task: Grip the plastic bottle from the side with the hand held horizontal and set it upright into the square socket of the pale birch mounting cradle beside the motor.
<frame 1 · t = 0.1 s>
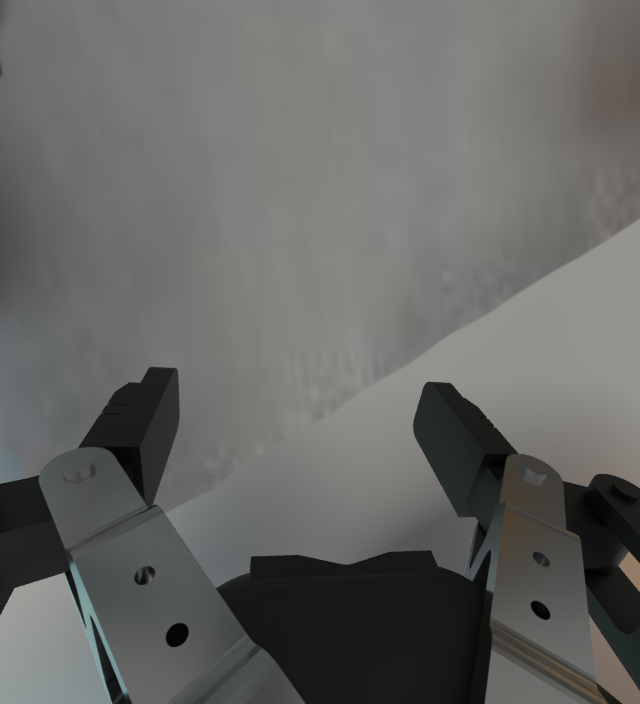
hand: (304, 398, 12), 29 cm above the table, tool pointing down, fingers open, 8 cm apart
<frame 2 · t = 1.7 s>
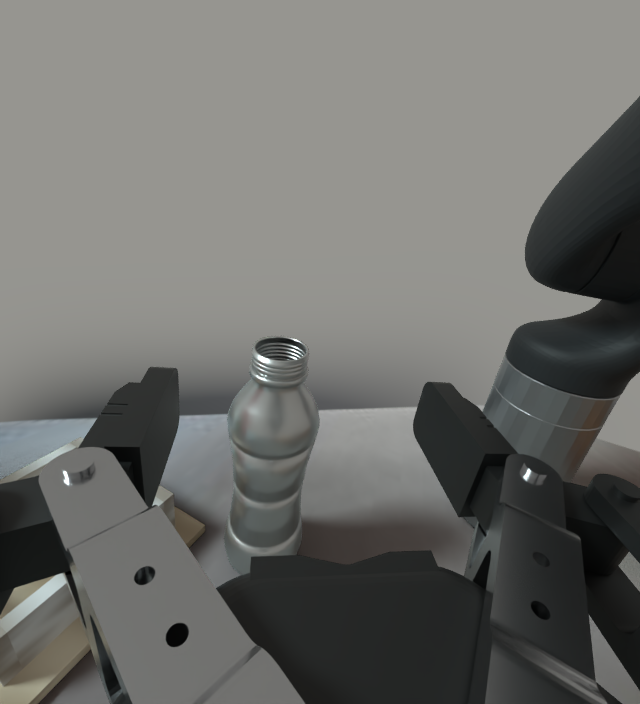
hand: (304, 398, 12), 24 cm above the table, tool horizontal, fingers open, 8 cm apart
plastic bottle: (261, 555, 32), on the table
mounting cradle: (57, 556, 30), on the table
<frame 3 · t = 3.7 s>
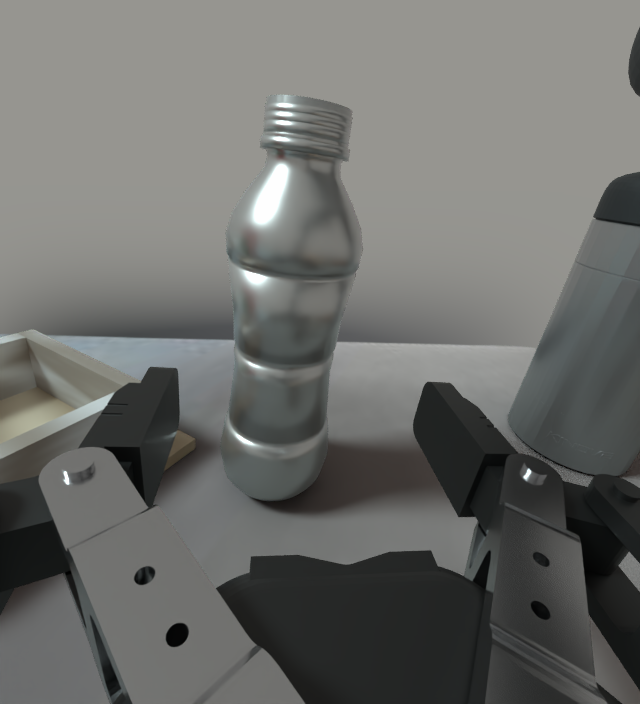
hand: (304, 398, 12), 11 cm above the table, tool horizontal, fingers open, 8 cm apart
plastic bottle: (271, 476, 24), on the table
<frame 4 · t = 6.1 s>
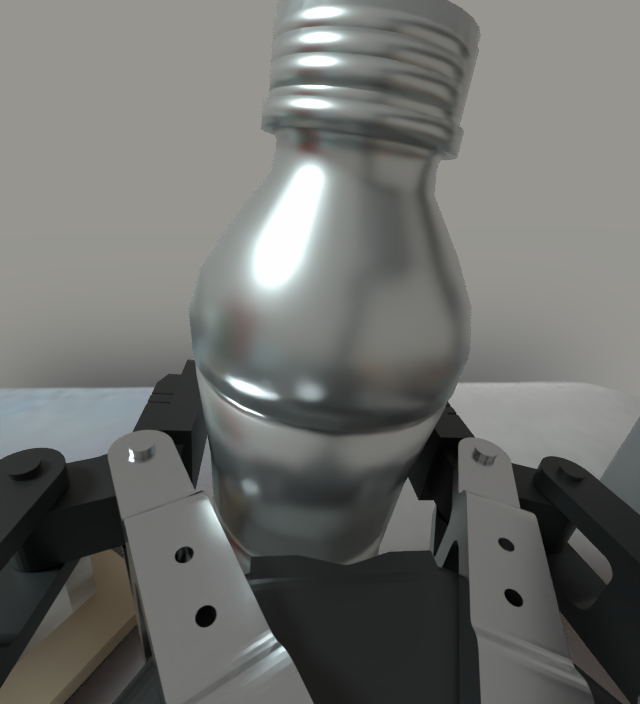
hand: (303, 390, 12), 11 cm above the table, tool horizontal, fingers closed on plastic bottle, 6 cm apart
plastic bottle: (278, 652, 15), on the table, touching gripper
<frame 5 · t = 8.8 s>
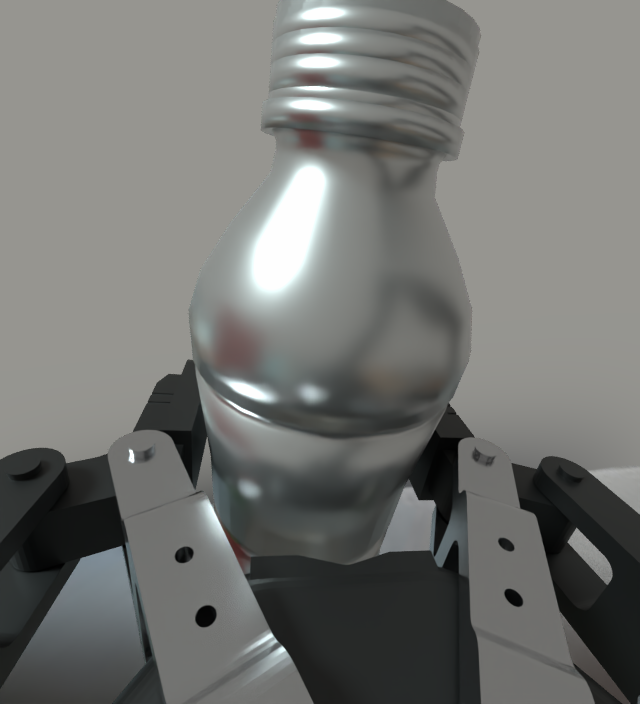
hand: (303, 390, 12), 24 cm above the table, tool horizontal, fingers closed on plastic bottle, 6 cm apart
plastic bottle: (278, 654, 15), point 13 cm above the table, touching gripper
when the fingers open (13 cm above the table, at t = 11.5 s): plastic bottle stays where it is, resting on mounting cradle.
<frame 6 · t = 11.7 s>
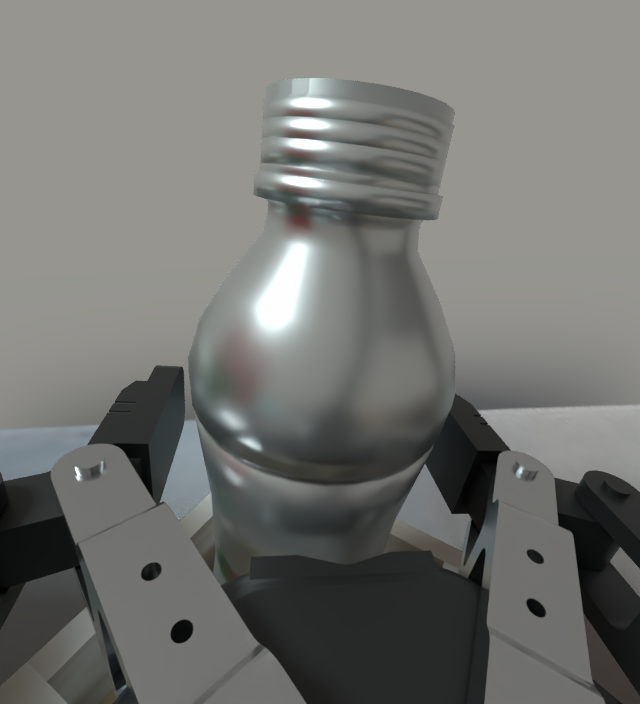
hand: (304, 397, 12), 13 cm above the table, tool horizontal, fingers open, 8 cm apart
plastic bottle: (279, 673, 16), point 1 cm above the table, touching mounting cradle
mounting cradle: (273, 675, 16), on the table
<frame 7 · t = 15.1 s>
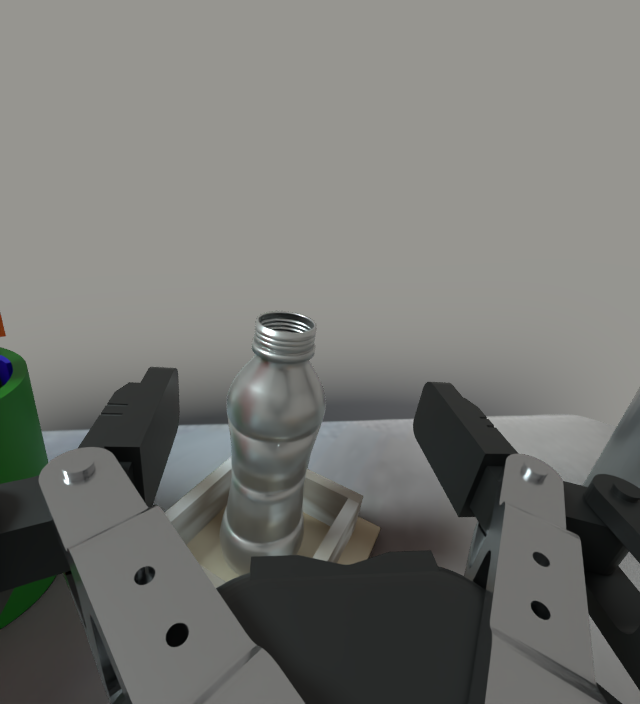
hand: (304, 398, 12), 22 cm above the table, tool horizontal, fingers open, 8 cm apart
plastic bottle: (259, 554, 30), point 1 cm above the table, touching mounting cradle
mounting cradle: (256, 557, 30), on the table
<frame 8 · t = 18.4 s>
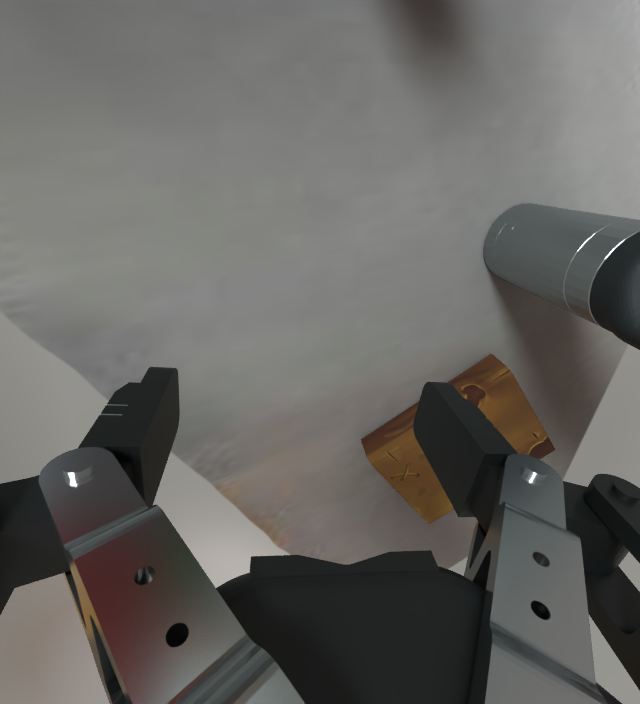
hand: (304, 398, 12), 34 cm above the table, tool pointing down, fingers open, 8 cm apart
diary: (448, 430, 60), on the table
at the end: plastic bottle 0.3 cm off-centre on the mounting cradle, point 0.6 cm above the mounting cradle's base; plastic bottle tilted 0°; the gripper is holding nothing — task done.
